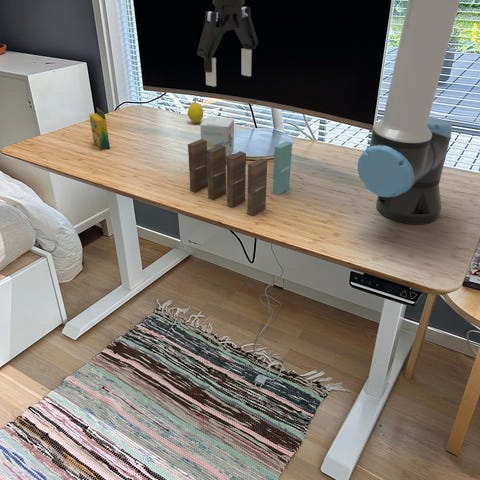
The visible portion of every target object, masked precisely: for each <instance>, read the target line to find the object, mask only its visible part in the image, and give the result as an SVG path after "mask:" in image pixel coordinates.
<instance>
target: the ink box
mask: <svg viewBox="0 0 480 480" xmlns="http://www.w3.org/2000/svg"><path fill="white" fill-rule="evenodd" d="M199 126H200V139H203V140H206V141H207V150H209V149H212V148H214V147H216V146H219V145H222V146H225V147H226V165H227V157H228V156H231V155H232V153H233V151H234V147H235V144H234V141H235V140H234V139H235V136H234V135H235V118H232V117H220V116H210V115H207V117H206V118H205V119H204V120H203V121H202V122H201V123H200V125H199Z"/></svg>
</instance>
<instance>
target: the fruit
mask: <svg viewBox="0 0 480 480" xmlns="http://www.w3.org/2000/svg"><path fill="white" fill-rule="evenodd" d="M187 117H188V119H189V120H190V121H191V122H192V123H194V124H197V123H199V122H201V120H202V119H203V118H204V109H203V106H202V105H201V104H199V103H197V102H196V101H193V103H192V104H190V105H189V106H188V110H187Z"/></svg>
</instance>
